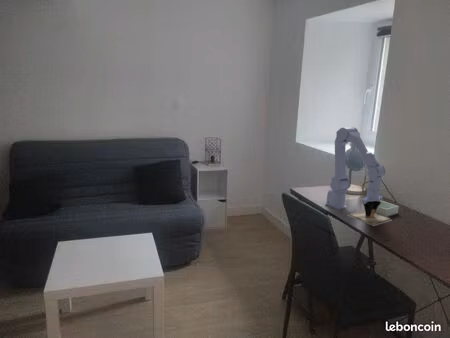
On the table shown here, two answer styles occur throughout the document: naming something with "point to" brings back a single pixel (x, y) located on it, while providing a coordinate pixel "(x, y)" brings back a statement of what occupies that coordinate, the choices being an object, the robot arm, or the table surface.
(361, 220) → the mat
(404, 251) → the table surface
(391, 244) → the table surface
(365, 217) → the lid
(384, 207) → the open box
